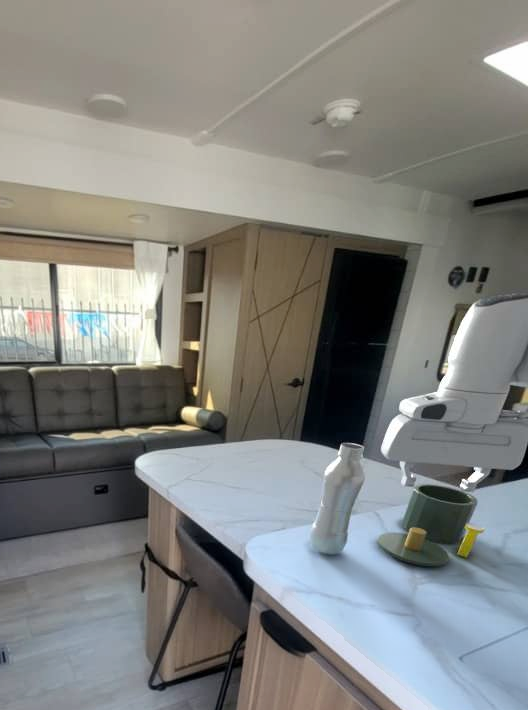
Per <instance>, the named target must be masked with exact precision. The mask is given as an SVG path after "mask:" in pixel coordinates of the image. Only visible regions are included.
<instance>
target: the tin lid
mask: <svg viewBox="0 0 528 710" xmlns="http://www.w3.org/2000/svg"><path fill="white" fill-rule="evenodd" d="M426 533H427V532H426V531H425V530H423V529H420V528H416V527H412V528H410V531H409V532H408V533H404V532H393V531H391V532H384V533H382V534H380V535H379V536H378V538H377V545H378V547H379V548H380V549H381V550H382V551H384V552H385V553H386V554H387V555H390V556H391V557H393V558H395V559H398V560H400V561H403V562H405V563H409V564H413V565H416V566H421V567H422V566H423V567H439V566H443V565H446V564H447V562H448V561H449V553H448V552H447V551H446V550H445V549H444V548H443V547H442V546H440V545H439V544H437V543H436V542H434V541H429V540H426V539H424V538H425V536H426Z"/></svg>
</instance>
